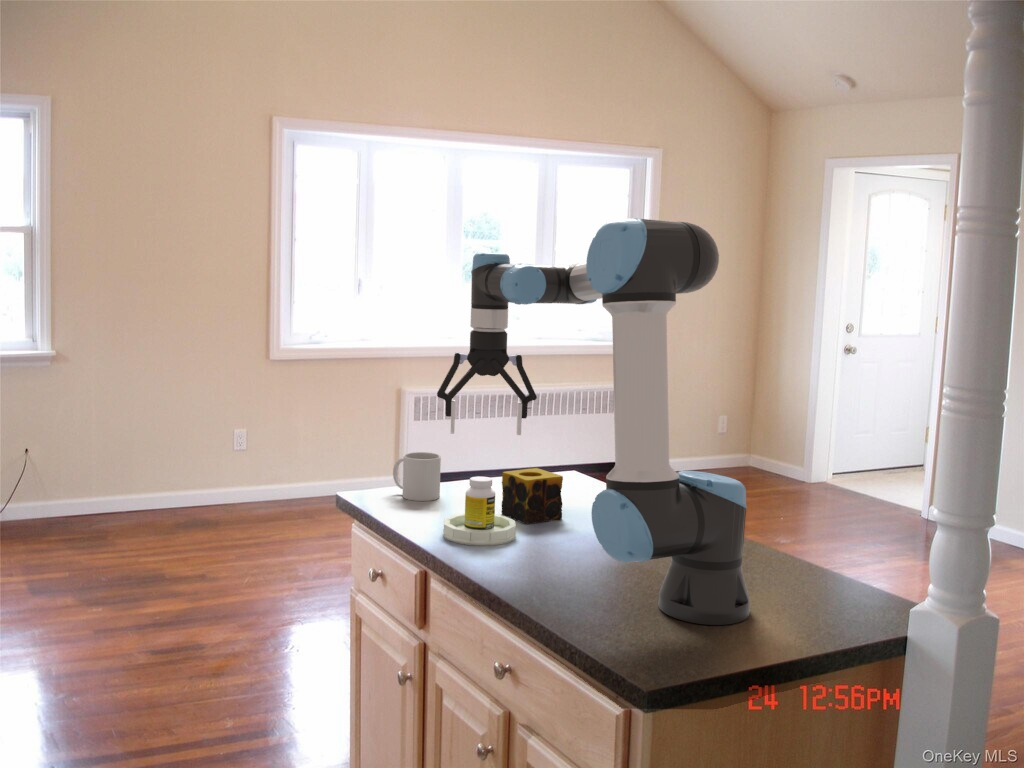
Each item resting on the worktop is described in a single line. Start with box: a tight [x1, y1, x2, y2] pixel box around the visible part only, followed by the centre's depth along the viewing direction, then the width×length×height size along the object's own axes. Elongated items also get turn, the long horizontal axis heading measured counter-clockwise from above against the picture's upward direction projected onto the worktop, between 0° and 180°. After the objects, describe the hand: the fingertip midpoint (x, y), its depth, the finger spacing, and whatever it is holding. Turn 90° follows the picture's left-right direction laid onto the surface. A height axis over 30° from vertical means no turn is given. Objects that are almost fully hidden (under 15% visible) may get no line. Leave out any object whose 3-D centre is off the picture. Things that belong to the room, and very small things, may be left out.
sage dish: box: [442, 513, 517, 547], centre depth 209 cm, size 15×15×3 cm
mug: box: [392, 451, 442, 502], centre depth 240 cm, size 11×10×10 cm
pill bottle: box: [464, 475, 496, 531], centre depth 208 cm, size 6×6×11 cm
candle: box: [501, 467, 564, 525], centre depth 225 cm, size 10×10×10 cm
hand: (485, 433), depth 206 cm, fingers open, 13 cm apart
